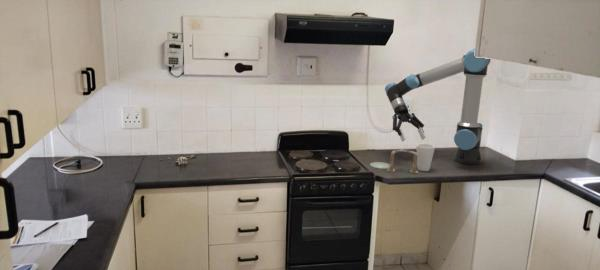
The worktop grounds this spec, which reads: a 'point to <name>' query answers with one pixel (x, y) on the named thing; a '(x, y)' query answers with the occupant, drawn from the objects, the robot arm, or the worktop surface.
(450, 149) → the worktop surface
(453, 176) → the worktop surface
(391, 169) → the pull handle
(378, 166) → the coaster
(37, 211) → the worktop surface
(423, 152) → the foam cup
